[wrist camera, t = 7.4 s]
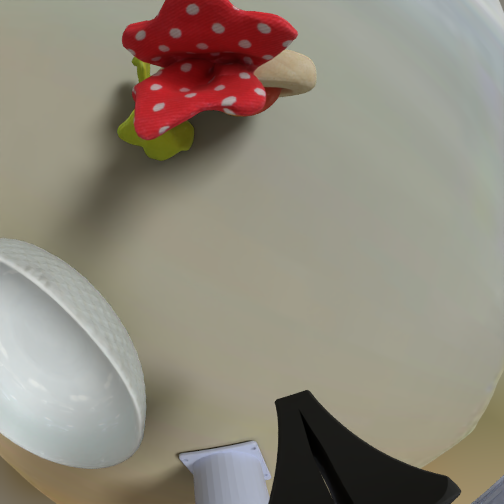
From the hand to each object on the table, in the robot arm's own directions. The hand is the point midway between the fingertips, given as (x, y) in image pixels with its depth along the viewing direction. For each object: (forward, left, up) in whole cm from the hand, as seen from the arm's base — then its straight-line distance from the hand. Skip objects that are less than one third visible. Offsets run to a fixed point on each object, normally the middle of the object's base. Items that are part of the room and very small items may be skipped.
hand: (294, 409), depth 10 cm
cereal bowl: (+2, +15, -10) cm, 18 cm away
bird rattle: (+13, 0, -10) cm, 16 cm away
